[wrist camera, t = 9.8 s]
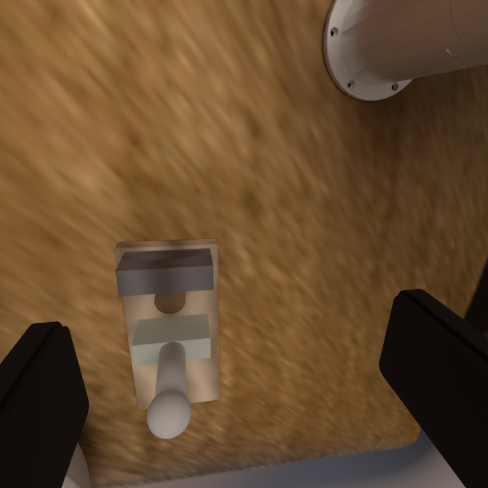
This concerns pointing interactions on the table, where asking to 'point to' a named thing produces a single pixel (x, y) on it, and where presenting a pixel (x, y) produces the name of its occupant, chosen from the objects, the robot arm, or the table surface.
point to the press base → (197, 302)
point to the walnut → (170, 302)
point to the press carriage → (170, 366)
